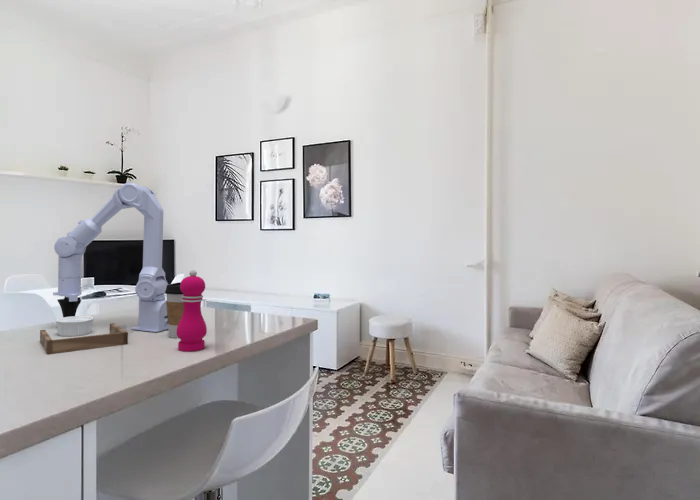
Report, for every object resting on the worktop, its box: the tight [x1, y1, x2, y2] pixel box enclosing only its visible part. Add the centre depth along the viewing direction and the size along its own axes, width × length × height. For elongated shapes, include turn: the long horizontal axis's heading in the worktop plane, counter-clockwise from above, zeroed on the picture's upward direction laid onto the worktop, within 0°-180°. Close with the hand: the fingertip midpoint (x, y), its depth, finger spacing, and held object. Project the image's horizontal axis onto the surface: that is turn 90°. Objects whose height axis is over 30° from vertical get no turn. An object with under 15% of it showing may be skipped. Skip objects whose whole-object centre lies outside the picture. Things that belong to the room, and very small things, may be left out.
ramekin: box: [55, 315, 94, 337], centre depth 118 cm, size 9×9×4 cm
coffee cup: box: [165, 281, 184, 339], centre depth 119 cm, size 8×8×15 cm
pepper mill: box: [176, 269, 208, 352], centre depth 106 cm, size 7×7×20 cm
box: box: [39, 322, 129, 355], centre depth 108 cm, size 15×17×3 cm
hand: (68, 322), depth 126 cm, fingers closed
